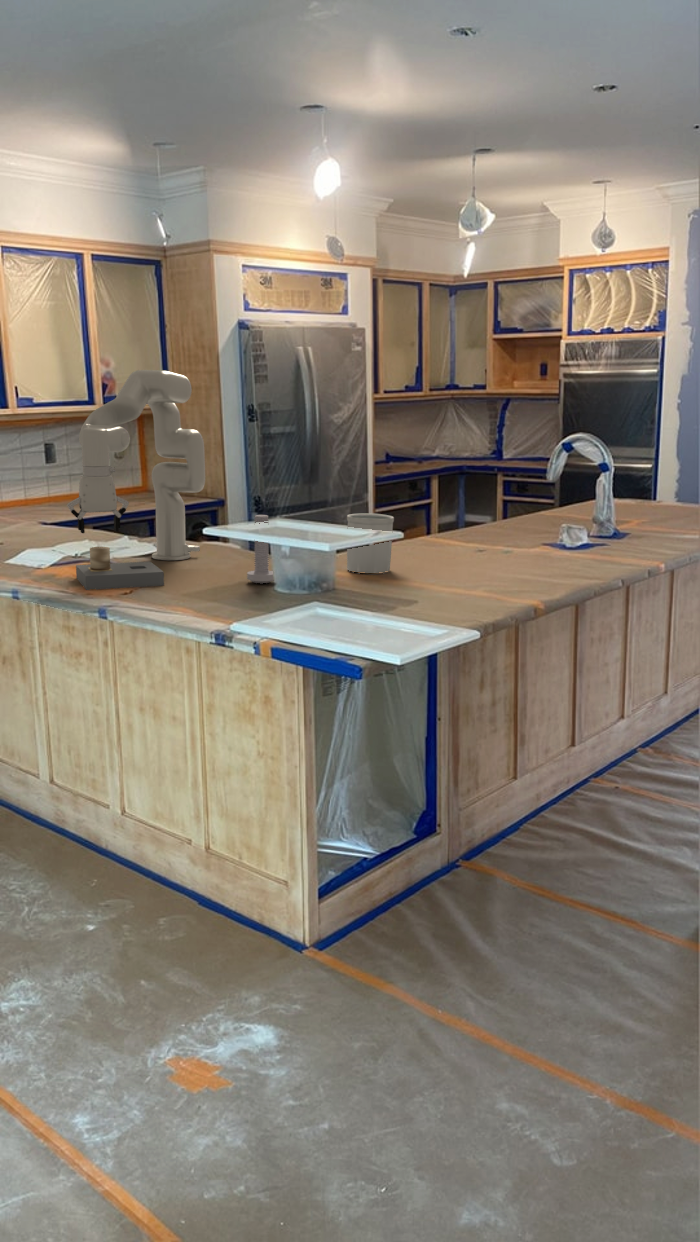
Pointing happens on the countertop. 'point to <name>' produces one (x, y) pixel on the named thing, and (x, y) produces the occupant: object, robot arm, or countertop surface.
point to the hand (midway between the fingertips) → (99, 531)
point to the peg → (100, 558)
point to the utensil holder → (373, 555)
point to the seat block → (120, 576)
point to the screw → (261, 559)
